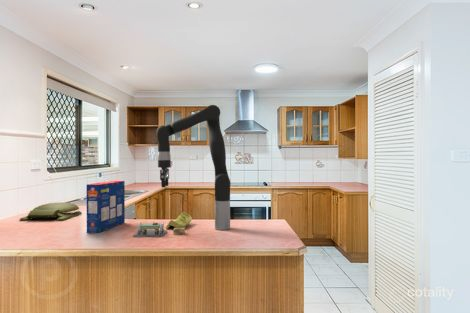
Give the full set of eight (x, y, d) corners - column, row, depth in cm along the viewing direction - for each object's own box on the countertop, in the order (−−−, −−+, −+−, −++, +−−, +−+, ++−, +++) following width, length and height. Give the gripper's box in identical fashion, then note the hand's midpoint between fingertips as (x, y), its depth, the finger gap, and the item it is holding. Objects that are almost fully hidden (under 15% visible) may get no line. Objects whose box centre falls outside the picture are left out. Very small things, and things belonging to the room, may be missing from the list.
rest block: (185, 233, 187) (185, 227, 187) (183, 234, 183) (183, 229, 183) (174, 233, 187) (174, 227, 187) (173, 234, 184) (173, 229, 184)
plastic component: (183, 226, 194) (169, 218, 196) (178, 237, 195) (164, 229, 197) (194, 217, 214) (180, 210, 215) (189, 227, 215) (176, 220, 216)
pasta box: (113, 222, 216) (113, 180, 216) (124, 223, 215) (124, 180, 215) (86, 232, 189) (86, 184, 189) (99, 233, 187) (98, 184, 187)
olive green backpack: (62, 221, 221) (62, 207, 221) (17, 221, 221) (17, 207, 221) (86, 212, 256) (86, 200, 256) (47, 212, 256) (47, 200, 256)
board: (160, 226, 187) (160, 222, 187) (158, 229, 181) (158, 224, 181) (143, 226, 187) (143, 222, 187) (140, 229, 181) (140, 224, 181)
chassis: (167, 231, 190) (167, 221, 190) (162, 236, 178) (162, 225, 178) (139, 231, 191) (139, 221, 191) (133, 236, 179) (133, 225, 179)
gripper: (168, 159, 187) (169, 187, 187) (172, 159, 201) (173, 185, 201) (155, 159, 187) (156, 188, 187) (160, 159, 201) (161, 185, 201)
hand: (165, 186), depth 194 cm, fingers open, 8 cm apart
